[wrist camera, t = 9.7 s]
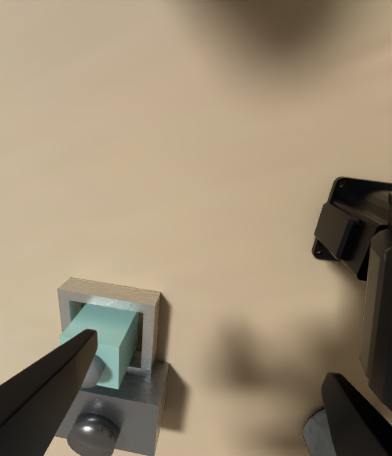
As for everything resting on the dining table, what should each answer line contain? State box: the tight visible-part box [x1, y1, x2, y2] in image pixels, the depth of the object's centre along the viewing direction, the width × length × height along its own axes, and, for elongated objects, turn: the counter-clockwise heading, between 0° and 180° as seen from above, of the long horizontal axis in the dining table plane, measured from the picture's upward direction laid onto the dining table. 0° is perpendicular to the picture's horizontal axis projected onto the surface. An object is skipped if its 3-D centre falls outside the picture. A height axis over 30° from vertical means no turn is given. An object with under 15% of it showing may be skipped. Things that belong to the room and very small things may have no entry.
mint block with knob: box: [60, 303, 139, 389], centre depth 22 cm, size 5×5×6 cm
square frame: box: [55, 277, 169, 456], centre depth 24 cm, size 12×17×6 cm
